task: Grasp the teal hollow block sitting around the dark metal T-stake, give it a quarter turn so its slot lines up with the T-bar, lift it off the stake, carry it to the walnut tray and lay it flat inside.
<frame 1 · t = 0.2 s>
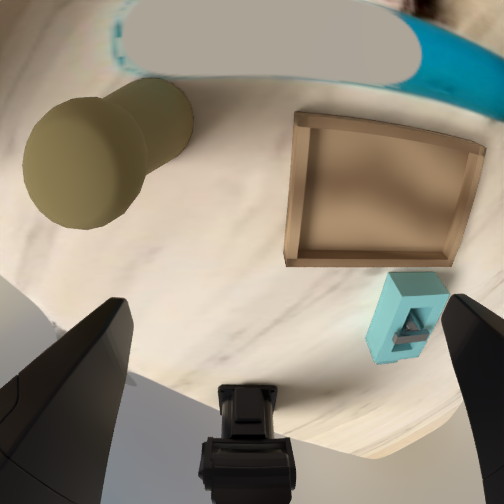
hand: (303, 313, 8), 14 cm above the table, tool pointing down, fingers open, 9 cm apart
teal hollow block: (399, 306, 27), on the table
cork: (148, 122, 19), on the table
stake: (399, 307, 27), on the table
tray: (385, 193, 21), on the table
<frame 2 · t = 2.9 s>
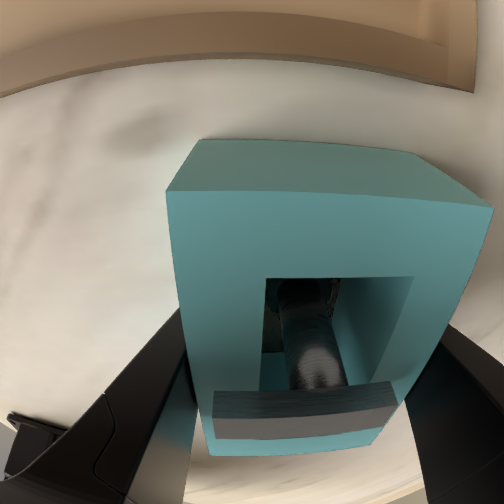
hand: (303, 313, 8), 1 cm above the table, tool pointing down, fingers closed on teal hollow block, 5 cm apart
teal hollow block: (297, 288, 9), on the table, touching gripper
stake: (297, 288, 9), on the table
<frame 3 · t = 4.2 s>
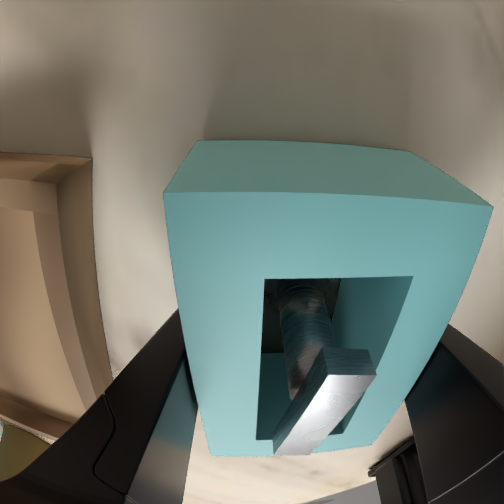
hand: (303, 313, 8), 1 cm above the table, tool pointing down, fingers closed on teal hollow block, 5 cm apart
teal hollow block: (297, 288, 9), on the table, touching gripper
cork: (34, 442, 18), on the table
stake: (296, 284, 9), on the table
tray: (1, 322, 10), on the table
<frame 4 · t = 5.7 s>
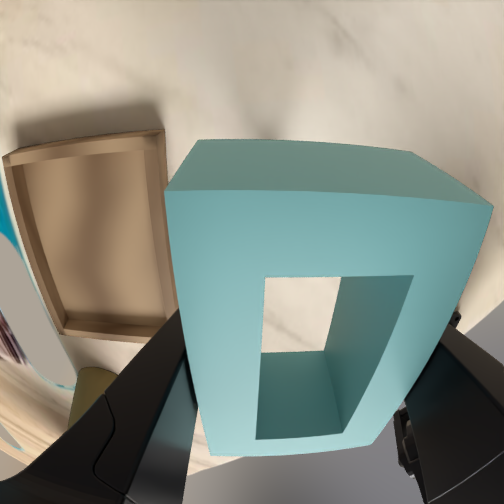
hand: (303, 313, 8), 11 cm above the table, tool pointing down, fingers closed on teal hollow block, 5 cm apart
teal hollow block: (297, 288, 9), point 10 cm above the table, touching gripper
cork: (105, 383, 28), on the table
tray: (99, 244, 19), on the table
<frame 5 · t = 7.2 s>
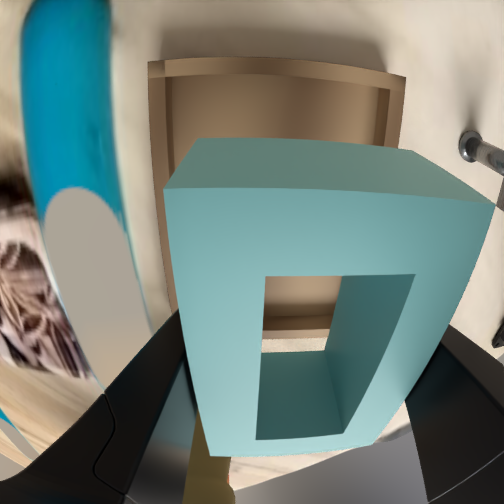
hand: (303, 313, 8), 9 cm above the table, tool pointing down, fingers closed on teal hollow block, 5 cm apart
teal hollow block: (298, 287, 9), point 8 cm above the table, touching gripper
cork: (204, 394, 24), on the table
stake: (470, 146, 14), on the table
tray: (271, 209, 16), on the table
when the fingers open (3 cm above the table, at t = 8.5 s): teal hollow block drops 1 cm, resting on tray.
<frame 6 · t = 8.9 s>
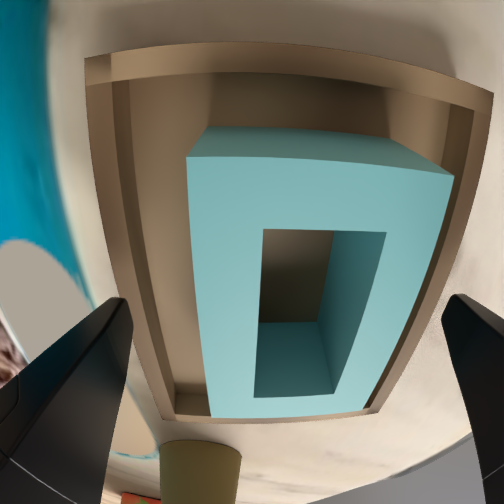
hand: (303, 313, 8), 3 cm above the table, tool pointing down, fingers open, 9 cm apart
teal hollow block: (292, 259, 10), point 1 cm above the table, touching tray
cork: (200, 453, 20), on the table
tray: (285, 276, 11), on the table
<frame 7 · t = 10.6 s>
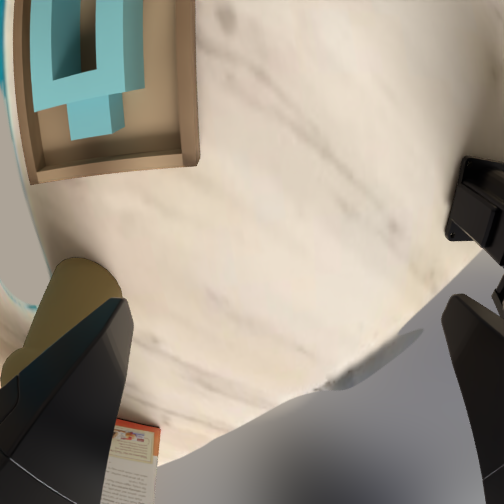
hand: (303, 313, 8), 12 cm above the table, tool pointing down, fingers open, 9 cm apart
teal hollow block: (99, 28, 12), point 1 cm above the table, touching tray
cork: (87, 289, 22), on the table
cracker box: (108, 422, 33), on the table
tray: (103, 46, 13), on the table
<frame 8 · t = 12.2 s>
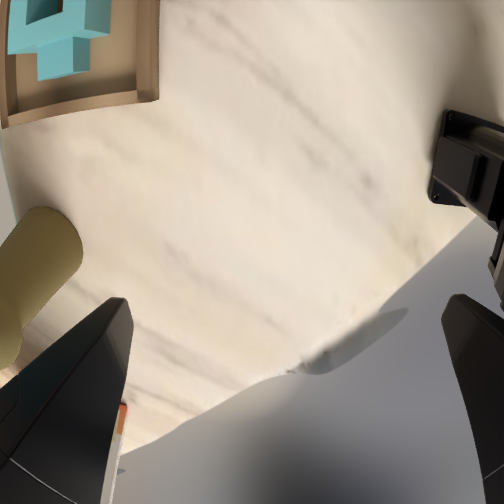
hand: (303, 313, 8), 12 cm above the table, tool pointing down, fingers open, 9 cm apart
cork: (50, 242, 20), on the table
cracker box: (76, 397, 32), on the table
tray: (78, 1, 12), on the table
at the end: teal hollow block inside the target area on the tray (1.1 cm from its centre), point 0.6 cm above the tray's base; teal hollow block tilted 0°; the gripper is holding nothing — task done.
